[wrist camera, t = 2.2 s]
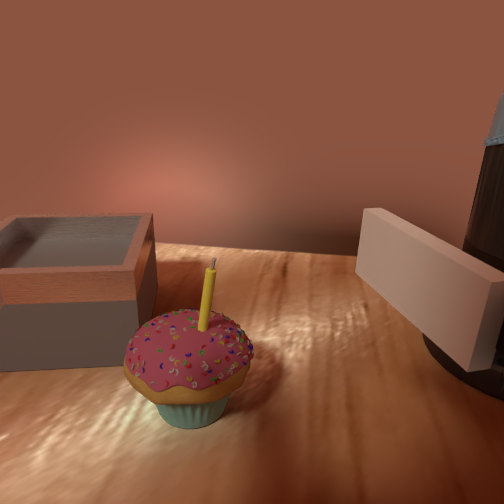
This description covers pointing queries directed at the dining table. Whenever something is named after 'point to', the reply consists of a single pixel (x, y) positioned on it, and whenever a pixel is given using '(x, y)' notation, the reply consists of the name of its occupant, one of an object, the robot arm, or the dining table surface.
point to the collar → (75, 277)
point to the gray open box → (73, 311)
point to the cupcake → (189, 361)
